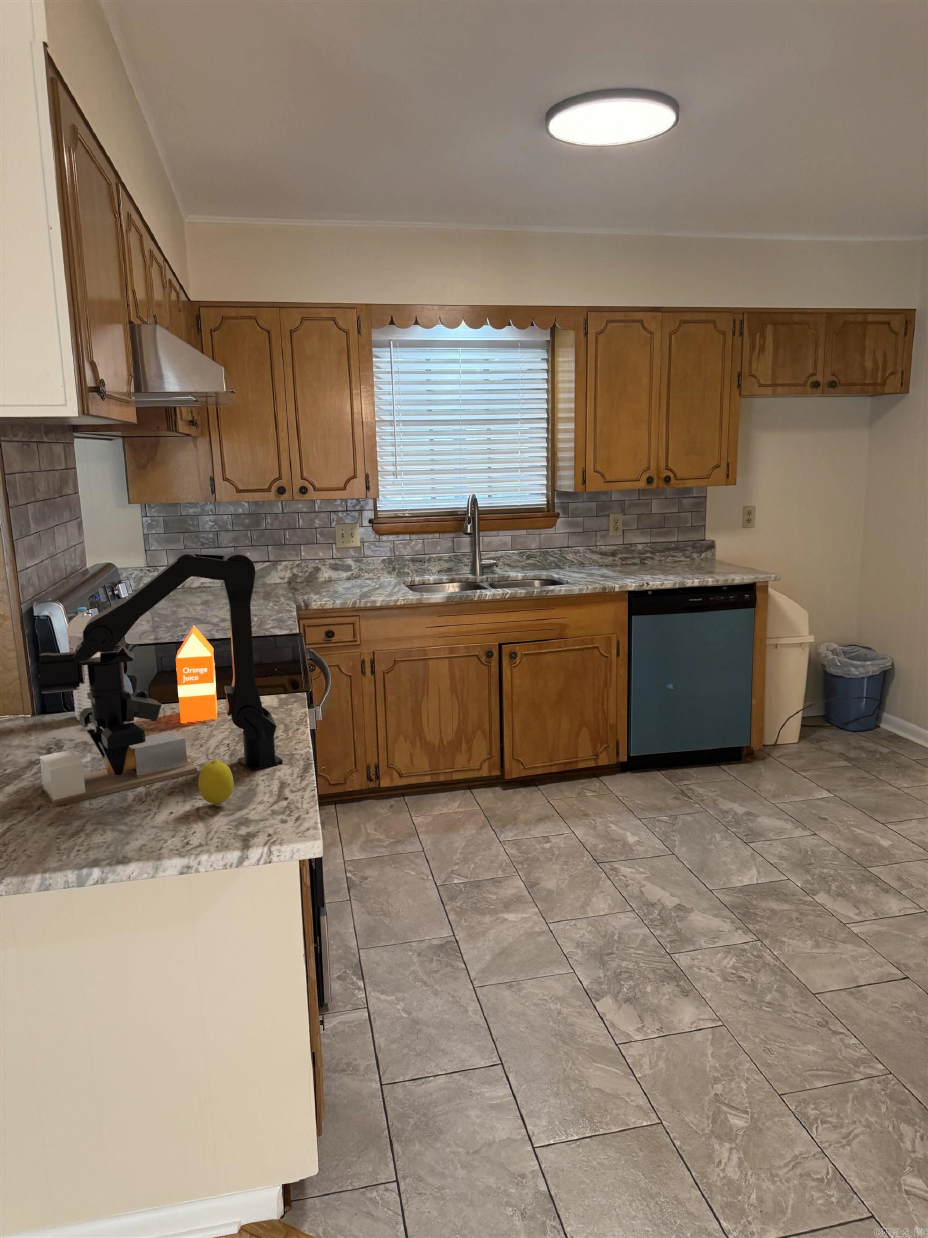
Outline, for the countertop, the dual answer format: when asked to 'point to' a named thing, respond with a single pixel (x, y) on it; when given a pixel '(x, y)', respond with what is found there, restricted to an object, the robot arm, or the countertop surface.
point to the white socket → (62, 774)
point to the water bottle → (75, 639)
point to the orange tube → (127, 766)
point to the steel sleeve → (159, 753)
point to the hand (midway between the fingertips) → (115, 771)
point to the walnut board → (119, 782)
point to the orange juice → (196, 679)
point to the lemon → (215, 782)
